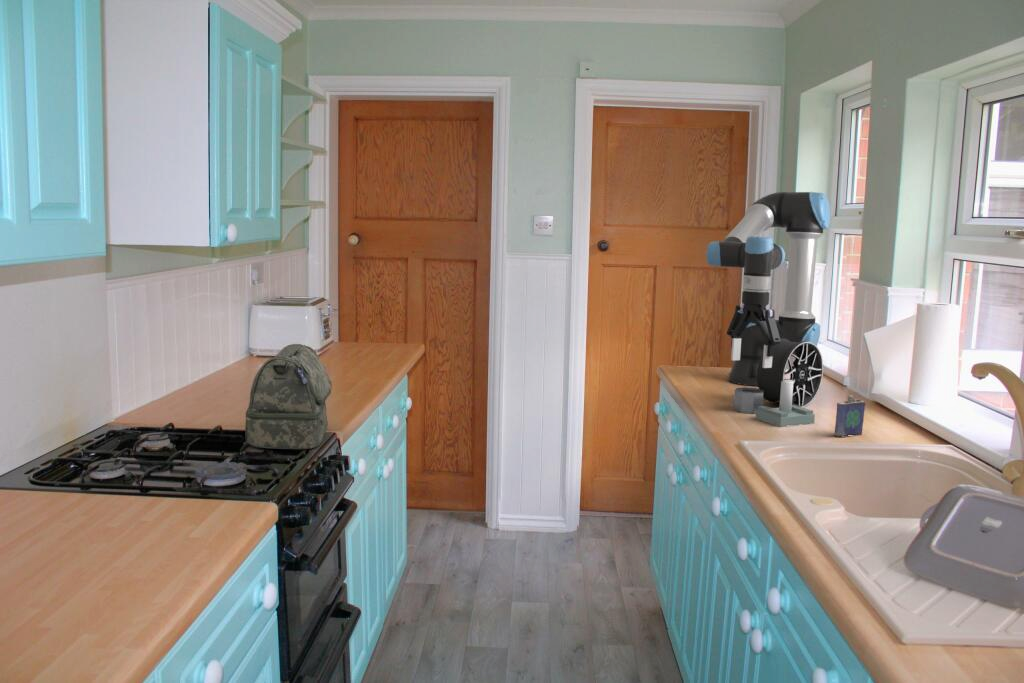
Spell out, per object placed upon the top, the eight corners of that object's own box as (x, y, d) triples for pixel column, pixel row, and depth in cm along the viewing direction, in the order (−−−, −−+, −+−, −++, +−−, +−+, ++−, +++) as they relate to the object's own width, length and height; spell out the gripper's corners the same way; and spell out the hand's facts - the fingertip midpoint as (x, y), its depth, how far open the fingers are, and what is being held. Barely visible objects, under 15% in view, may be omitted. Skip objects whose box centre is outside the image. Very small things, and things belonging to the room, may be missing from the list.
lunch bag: (321, 453, 193) (320, 358, 190) (239, 453, 191) (237, 357, 188) (334, 425, 218) (334, 341, 215) (262, 424, 217) (261, 340, 214)
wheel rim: (780, 411, 247) (785, 344, 244) (754, 405, 254) (759, 339, 251) (820, 404, 259) (825, 339, 256) (794, 398, 266) (799, 335, 263)
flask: (839, 438, 218) (842, 397, 217) (830, 435, 221) (833, 395, 219) (864, 434, 222) (868, 394, 221) (855, 432, 225) (859, 392, 223)
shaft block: (788, 415, 242) (791, 377, 241) (814, 423, 234) (817, 384, 232) (755, 418, 237) (758, 380, 236) (780, 426, 228) (783, 386, 227)
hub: (749, 406, 253) (750, 386, 252) (768, 412, 246) (769, 392, 245) (728, 408, 250) (729, 388, 249) (746, 414, 242) (747, 393, 241)
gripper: (717, 287, 252) (713, 357, 255) (776, 294, 230) (770, 371, 233) (737, 287, 255) (733, 356, 258) (797, 294, 233) (791, 370, 236)
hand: (750, 364), depth 245 cm, fingers open, 13 cm apart
